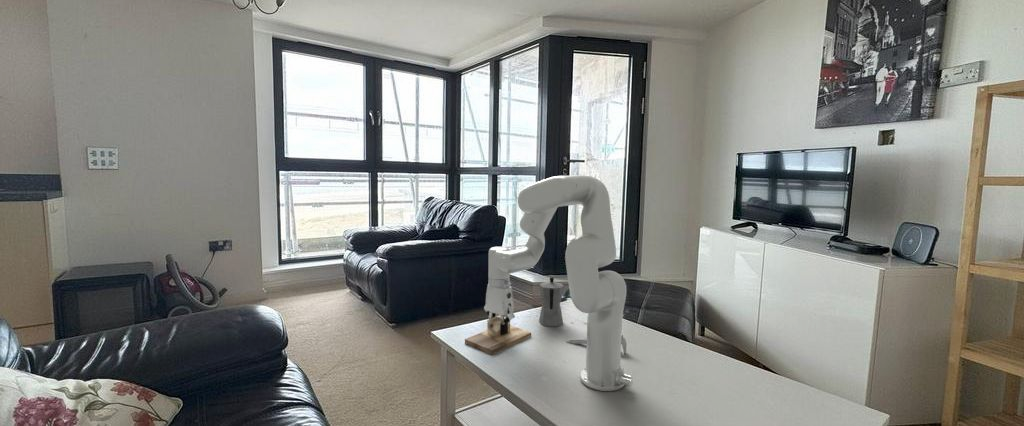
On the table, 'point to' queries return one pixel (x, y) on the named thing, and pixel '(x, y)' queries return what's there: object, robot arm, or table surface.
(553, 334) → the table surface
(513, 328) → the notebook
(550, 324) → the coffeepot
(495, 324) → the beige block with knob
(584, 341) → the caliper
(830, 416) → the table surface
